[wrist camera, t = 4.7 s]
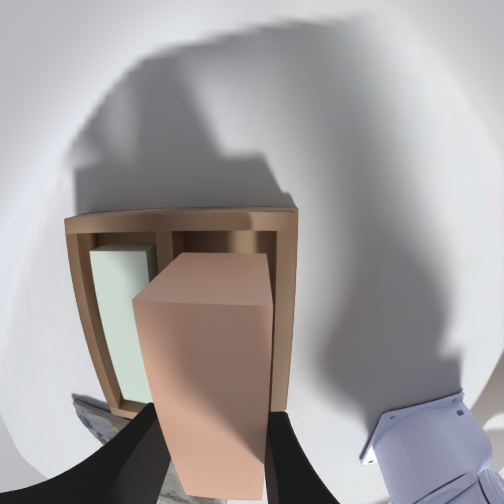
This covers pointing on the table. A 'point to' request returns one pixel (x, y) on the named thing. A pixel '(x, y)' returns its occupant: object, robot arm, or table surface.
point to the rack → (168, 249)
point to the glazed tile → (124, 308)
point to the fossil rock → (109, 425)
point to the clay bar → (210, 368)
